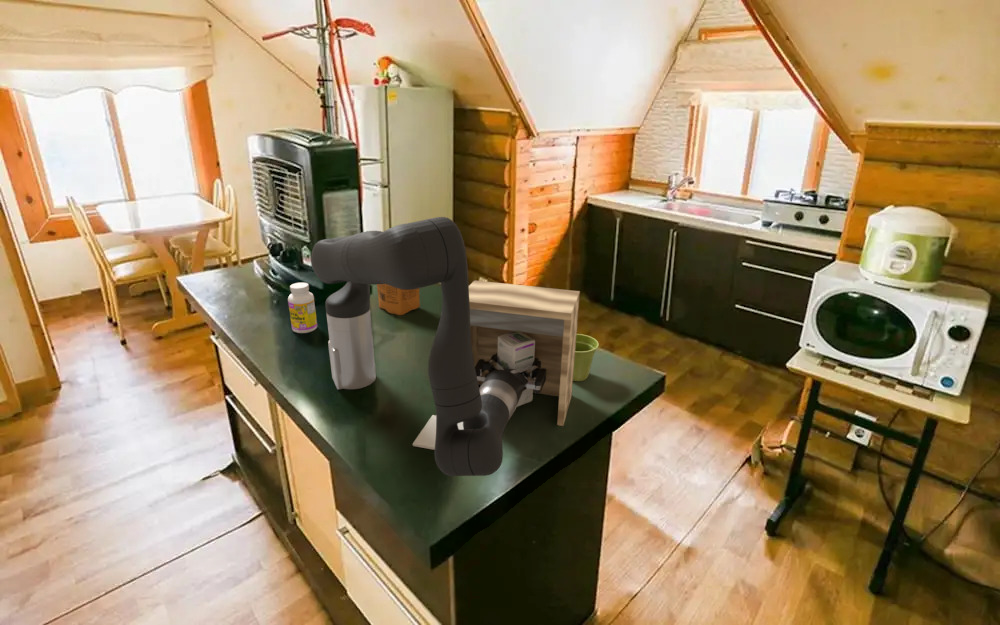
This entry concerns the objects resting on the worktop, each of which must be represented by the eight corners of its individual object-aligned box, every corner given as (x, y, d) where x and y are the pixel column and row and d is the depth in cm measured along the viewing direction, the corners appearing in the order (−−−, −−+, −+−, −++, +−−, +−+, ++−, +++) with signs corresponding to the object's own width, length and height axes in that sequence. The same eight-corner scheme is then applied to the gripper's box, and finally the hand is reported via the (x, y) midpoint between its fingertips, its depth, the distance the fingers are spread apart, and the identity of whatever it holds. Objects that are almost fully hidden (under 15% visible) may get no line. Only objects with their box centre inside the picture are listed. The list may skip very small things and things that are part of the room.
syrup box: (533, 401, 114) (537, 338, 108) (511, 409, 110) (513, 345, 105) (516, 389, 118) (519, 329, 112) (495, 397, 114) (496, 335, 109)
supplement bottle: (286, 331, 147) (280, 287, 142) (303, 322, 152) (297, 279, 147) (306, 335, 144) (300, 290, 139) (322, 326, 150) (317, 283, 145)
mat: (463, 455, 98) (463, 452, 98) (412, 445, 101) (412, 443, 100) (479, 424, 107) (479, 422, 107) (432, 417, 110) (432, 414, 109)
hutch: (563, 426, 107) (571, 313, 98) (457, 408, 113) (455, 300, 103) (571, 395, 118) (579, 291, 109) (474, 380, 123) (474, 280, 114)
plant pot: (603, 381, 124) (606, 348, 121) (566, 388, 121) (569, 354, 118) (583, 363, 132) (586, 331, 129) (548, 369, 129) (550, 336, 126)
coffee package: (399, 298, 171) (395, 230, 162) (424, 309, 163) (421, 238, 155) (373, 307, 164) (367, 236, 156) (398, 318, 156) (393, 245, 148)
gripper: (536, 386, 95) (552, 347, 109) (459, 374, 98) (485, 338, 113) (534, 422, 98) (550, 379, 112) (460, 409, 101) (484, 370, 116)
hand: (517, 359), depth 113 cm, fingers closed on syrup box, 7 cm apart
